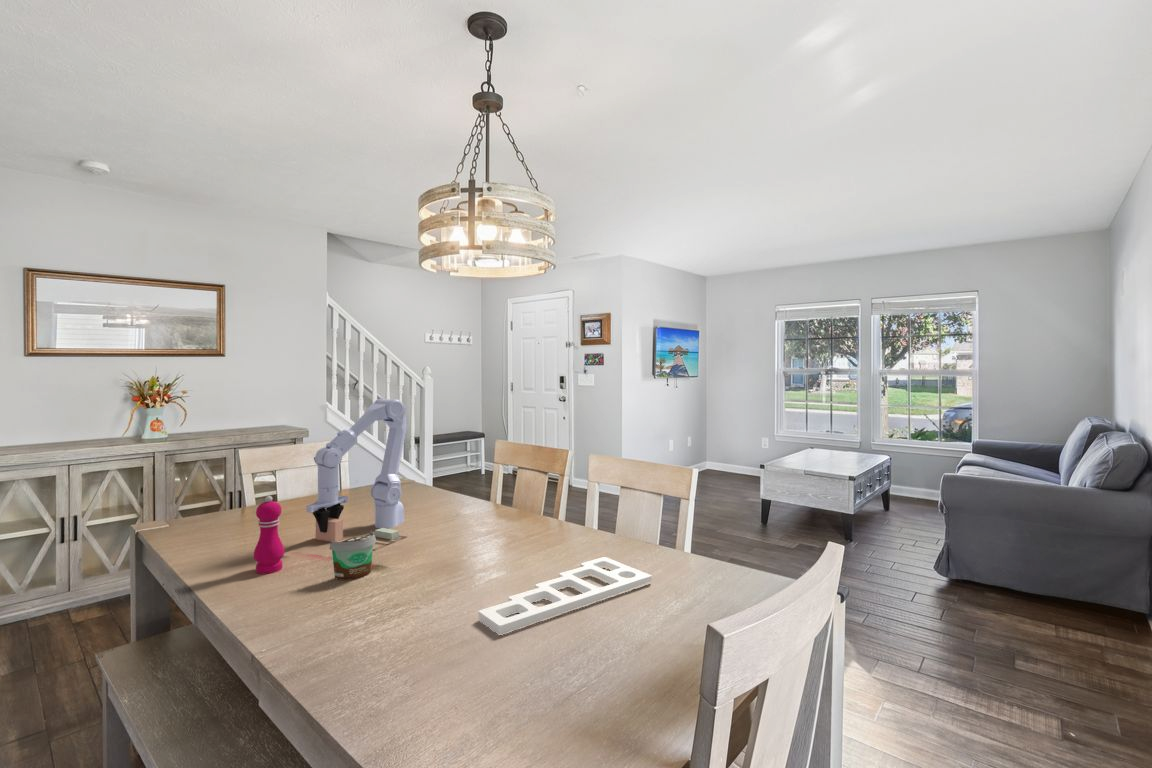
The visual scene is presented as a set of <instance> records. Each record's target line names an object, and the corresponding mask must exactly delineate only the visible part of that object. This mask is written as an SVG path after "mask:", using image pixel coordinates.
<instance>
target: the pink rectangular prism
mask: <svg viewBox="0 0 1152 768" xmlns="http://www.w3.org/2000/svg"><path fill="white" fill-rule="evenodd" d="M343 539H344V519H340V518H339V519H334V518H328V528H327V532H326V533H324V532H320V529H319V526H318V523H317V520H316V519H315V540H319V541H325V542H330V543H331V541H334V542H341V541H344V540H343Z"/></svg>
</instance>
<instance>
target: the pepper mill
mask: <svg viewBox="0 0 1152 768" xmlns="http://www.w3.org/2000/svg"><path fill="white" fill-rule="evenodd" d="M264 500H265V501H264V502H262V503H260V504H258V506H257V508H256V510H255V515H256V517H257V519H259V520H258V524H257V525H258V527H259V530H260V531H259V537H258V541H257V544H256V546H255V548H254V551H253V559H254V560H255V561H256V562H257V563H256V564H255V572H256V573H257V574H262V575H263V574H272V573H276V572H279V571H280V570H282V569H283V561H282V560H281V559H282V558H283V557H284V555H285V547H284V544H283V542H282V540H281V538H280V535H279V531H278V530H279V529H278V528H279V525H280V518H279V517H280V515H281V514H282V507H281V506H282V505H280V504H279V503H278V502H276V501H273V496H271V495H267V496H266V497H265V498H264Z"/></svg>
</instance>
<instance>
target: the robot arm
mask: <svg viewBox="0 0 1152 768" xmlns="http://www.w3.org/2000/svg"><path fill="white" fill-rule="evenodd" d="M406 410H407V407H406V406H405V404H404V403H403V401H401V400H400V399H395V398H394V399H388V398H378V399H376V400H375V401H374V403H372V404H370V405H369V406H368V409H367V410H366V411H365V412H364V413H363V415H361V417H359V418H358V419H357V421H356V422H354V424H353V425H352V426H351V427H349V429H343V430H339V431H338V432H337V434H336V436H335V437H334V438H333V439H331V441H329V442H327V443H326V444H325V447H321V448H319V449H318V450H317V451H316V453H315V455H314V457H313V461H314V463H315V464H316V465H317V500H315V502H313V503H311V504H308V505H306V506H305V507H306V509H305V510H306V513H308V514H309V513H310V514H312V515H313V516H314V518H315V521H316V520H317V523H318V526H319V529H320V532H324V533H326V532H327V528H328V518H334V519H340V516H341V514H342V512H343V510H345V509H344V508H345V507H344V506H345V505H343V504H347V503H349V496H347V495H342V496H341V495H340V496H339V465H340V464H341V463H342V461H343V456H345V454H347V452H349V451H350V450H351V449H352V448H353V447H354V446H355V445H356V444H357V443H358V437H360V435H361V434H363V433H364V432H365V430H367V429H368V428H369V427H370V426H372V425H373V424H374V423H375V422H376V421H384V422H385V424H386V426H388V427H389V429H388V435H387V439H386V445H385V450H384V455H383V459H382V460H383V461H382V464H381V465H382V466H381V470H380V474H379V475H378V476H376V477H375V479H374V480H375V481H374V484H373V485H372V486H371V488H370V497H371V498H372V499H373V500H374V501H373V502H374V528H376V529H380V528H386V529H390V528H391V529H392V528H395V527H396V526H399V525H401V524H403V523H405V508H404V505H403V503H402V502H401V501H400V499H401V498H402V494H403V493H402V487H401V486H402V482H401V479H400V478H399V476H398V474H399V469H400V464H401V458H402V454H403V447H404V444H405V443H404V442H405V440H406V439H405V438H406V433H407V428H408V422H407V416H406Z"/></svg>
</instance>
